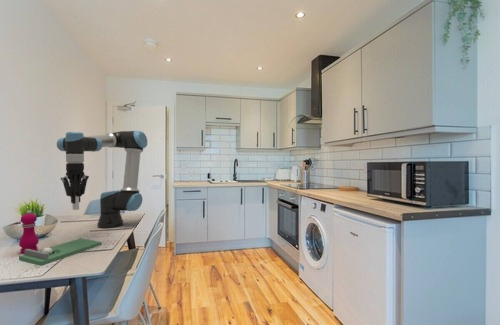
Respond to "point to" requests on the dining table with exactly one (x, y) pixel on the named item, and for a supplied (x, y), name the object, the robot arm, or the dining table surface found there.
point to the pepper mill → (28, 232)
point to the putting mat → (58, 251)
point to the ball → (47, 250)
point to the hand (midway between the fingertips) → (75, 209)
